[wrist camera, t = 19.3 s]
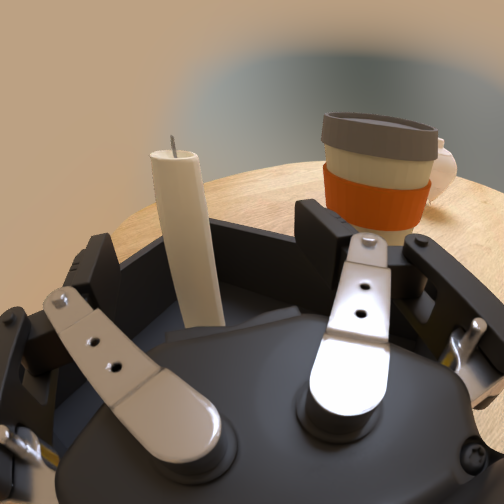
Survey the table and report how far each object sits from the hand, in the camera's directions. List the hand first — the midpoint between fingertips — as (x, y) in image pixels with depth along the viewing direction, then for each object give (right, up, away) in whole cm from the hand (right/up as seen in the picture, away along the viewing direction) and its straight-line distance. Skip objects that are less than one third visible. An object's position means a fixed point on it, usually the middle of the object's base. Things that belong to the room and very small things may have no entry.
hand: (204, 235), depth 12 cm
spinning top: (+32, +7, +31) cm, 45 cm away
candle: (0, -11, +4) cm, 11 cm away
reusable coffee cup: (+16, 0, +21) cm, 26 cm away
